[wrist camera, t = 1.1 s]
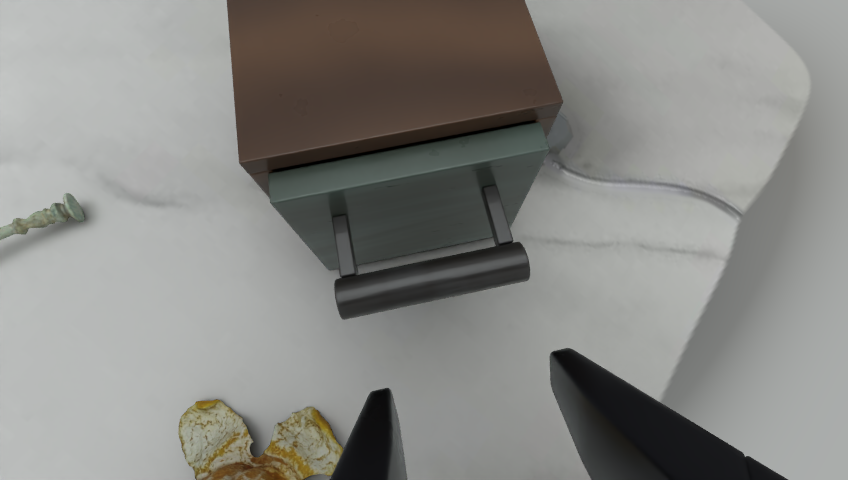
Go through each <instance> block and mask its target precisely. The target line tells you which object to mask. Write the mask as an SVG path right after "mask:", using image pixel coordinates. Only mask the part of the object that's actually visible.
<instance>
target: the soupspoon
mask: <svg viewBox="0 0 848 480" xmlns="http://www.w3.org/2000/svg"><path fill="white" fill-rule="evenodd" d="M63 200H64V204H60V203H53V204H52V205H51V207H50V209H46V208H45V209H43V211H37V212H35V213H33V214H32V215H30V216H29V217H28V218H27V219H20V218H16V219H14V220H13V223H12V224H9V225H7V226H4V227H1V228H0V240H2V239H4V238H6V237H9V236H11V235H13V234H26V233H27V231H28V229H29V228H44V227H47V226H48V225H49V224H54V223H55V222H67V221H68V218H69V217H72V218H74V219H76V220H77V221H78V222H84V213H83V211H82V209H81V207H80V205H79V203H78V202H77V201H76V199H75V198H74V197H73V196H72V195H71V194H69V193H66V194H64V196H63Z"/></svg>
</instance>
